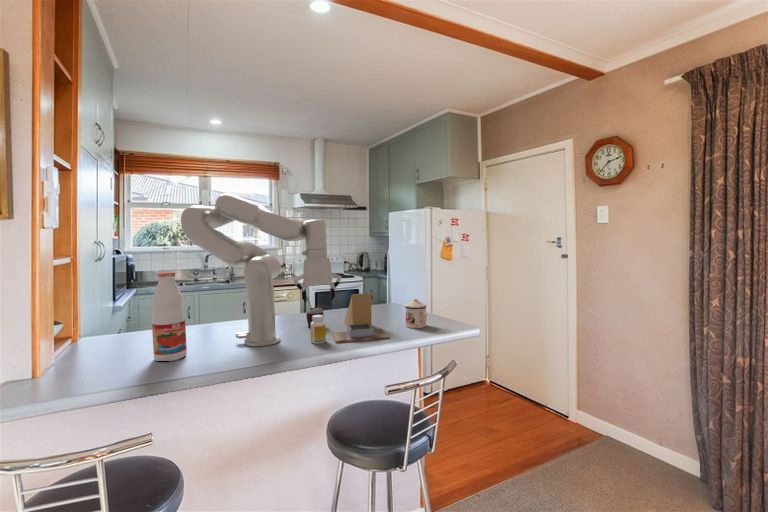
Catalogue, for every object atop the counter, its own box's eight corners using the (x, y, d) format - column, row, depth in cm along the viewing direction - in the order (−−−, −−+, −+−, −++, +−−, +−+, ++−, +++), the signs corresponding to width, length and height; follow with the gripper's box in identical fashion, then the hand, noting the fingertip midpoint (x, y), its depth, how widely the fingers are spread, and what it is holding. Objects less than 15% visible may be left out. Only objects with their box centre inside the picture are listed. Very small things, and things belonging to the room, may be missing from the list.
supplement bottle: (328, 341, 140) (328, 315, 139) (319, 344, 135) (318, 318, 135) (317, 339, 143) (316, 313, 142) (307, 342, 138) (307, 316, 137)
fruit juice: (180, 351, 130) (176, 270, 128) (191, 357, 124) (187, 272, 122) (149, 358, 123) (144, 273, 121) (160, 364, 117) (155, 274, 115)
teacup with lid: (400, 325, 162) (400, 298, 161) (418, 322, 166) (418, 296, 166) (417, 331, 151) (416, 302, 151) (435, 328, 156) (435, 300, 155)
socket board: (335, 343, 137) (335, 332, 137) (332, 334, 149) (332, 325, 148) (389, 338, 142) (389, 328, 142) (381, 330, 153) (381, 321, 153)
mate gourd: (325, 325, 164) (324, 290, 163) (321, 329, 156) (320, 293, 155) (308, 325, 164) (307, 291, 163) (303, 329, 156) (302, 294, 156)
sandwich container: (361, 320, 172) (361, 288, 171) (372, 328, 158) (371, 292, 157) (343, 322, 169) (342, 289, 168) (352, 330, 155) (351, 294, 154)
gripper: (292, 255, 131) (294, 304, 132) (341, 253, 135) (343, 300, 136) (291, 254, 138) (294, 300, 140) (339, 252, 143) (340, 297, 144)
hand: (318, 300), depth 138 cm, fingers open, 9 cm apart
